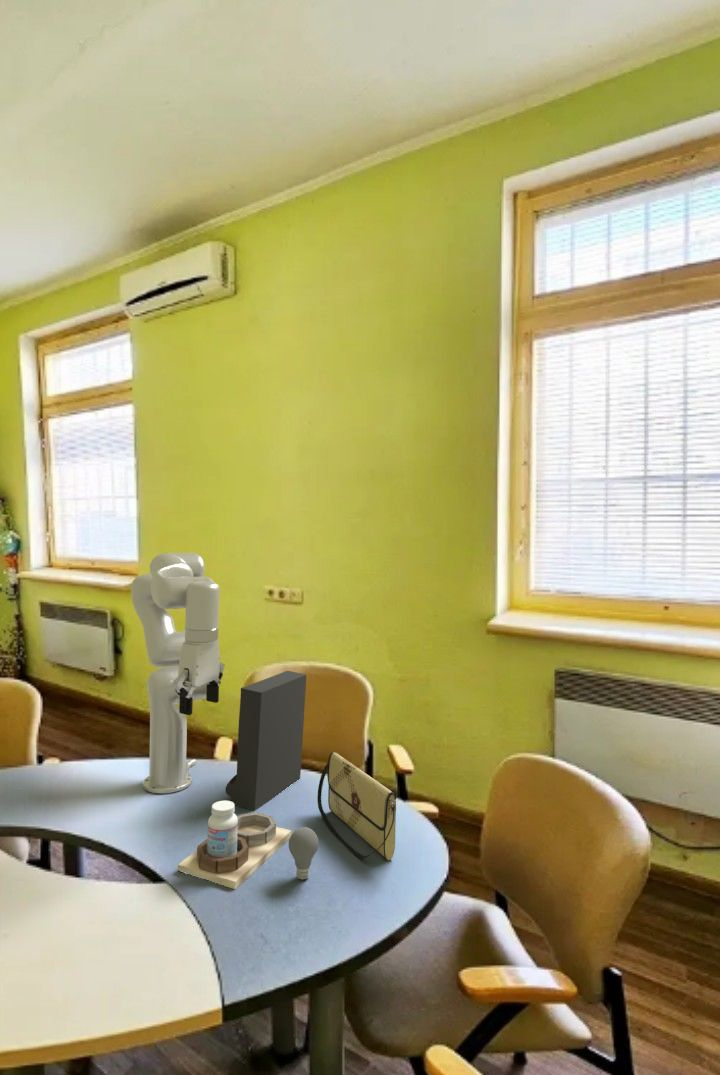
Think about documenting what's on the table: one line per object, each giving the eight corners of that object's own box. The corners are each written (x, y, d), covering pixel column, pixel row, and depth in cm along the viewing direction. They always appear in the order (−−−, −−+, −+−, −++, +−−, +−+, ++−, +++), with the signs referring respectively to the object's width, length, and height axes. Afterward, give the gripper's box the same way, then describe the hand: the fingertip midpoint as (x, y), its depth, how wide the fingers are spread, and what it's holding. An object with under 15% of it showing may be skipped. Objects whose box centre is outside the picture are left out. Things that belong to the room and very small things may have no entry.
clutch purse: (309, 813, 150) (310, 753, 150) (334, 807, 154) (335, 748, 154) (373, 874, 125) (375, 801, 125) (401, 865, 129) (403, 794, 128)
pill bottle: (200, 861, 125) (201, 807, 125) (220, 848, 131) (221, 796, 130) (223, 870, 122) (224, 814, 122) (243, 855, 128) (243, 802, 127)
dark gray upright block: (271, 772, 174) (273, 668, 174) (304, 780, 169) (306, 673, 169) (223, 802, 155) (225, 685, 155) (259, 812, 150) (261, 691, 150)
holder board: (239, 823, 144) (239, 807, 144) (291, 836, 139) (291, 819, 139) (177, 871, 124) (178, 852, 124) (235, 889, 119) (235, 869, 118)
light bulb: (304, 866, 127) (305, 818, 127) (323, 878, 123) (324, 829, 123) (281, 877, 123) (282, 828, 123) (300, 890, 119) (301, 839, 118)
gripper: (211, 626, 150) (209, 694, 151) (162, 640, 134) (160, 716, 135) (236, 630, 147) (234, 699, 148) (190, 644, 131) (188, 722, 132)
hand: (199, 707), depth 142 cm, fingers open, 9 cm apart
